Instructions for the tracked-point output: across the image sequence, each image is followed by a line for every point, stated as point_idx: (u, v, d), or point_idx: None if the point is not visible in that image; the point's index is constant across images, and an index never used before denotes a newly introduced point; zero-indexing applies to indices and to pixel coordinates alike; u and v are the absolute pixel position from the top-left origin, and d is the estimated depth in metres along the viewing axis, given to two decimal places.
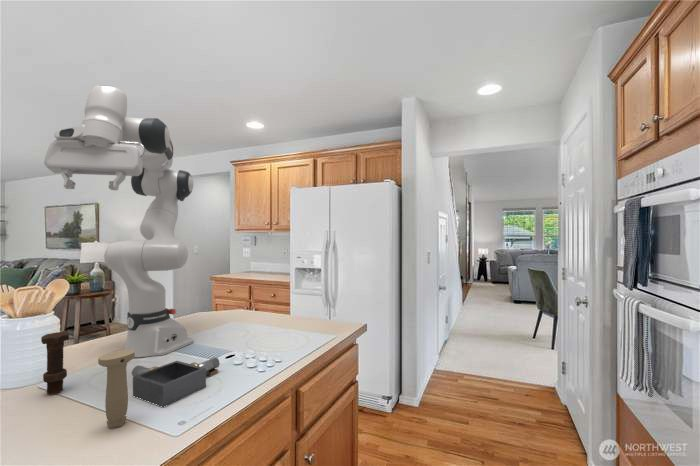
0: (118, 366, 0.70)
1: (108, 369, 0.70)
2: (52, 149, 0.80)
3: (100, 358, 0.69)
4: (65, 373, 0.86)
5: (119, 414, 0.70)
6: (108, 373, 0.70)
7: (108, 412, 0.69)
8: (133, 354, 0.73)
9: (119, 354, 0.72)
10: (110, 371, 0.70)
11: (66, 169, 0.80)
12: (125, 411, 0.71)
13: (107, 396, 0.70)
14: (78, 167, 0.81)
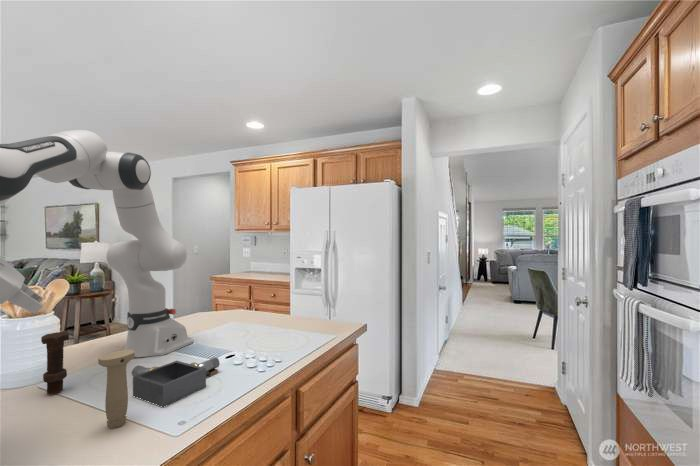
0: (118, 366, 0.70)
1: (108, 369, 0.70)
2: None
3: (100, 358, 0.69)
4: (65, 373, 0.86)
5: (119, 414, 0.70)
6: (108, 373, 0.70)
7: (108, 412, 0.69)
8: (133, 354, 0.73)
9: (119, 354, 0.72)
10: (110, 371, 0.70)
11: None
12: (125, 411, 0.71)
13: (107, 396, 0.70)
14: None
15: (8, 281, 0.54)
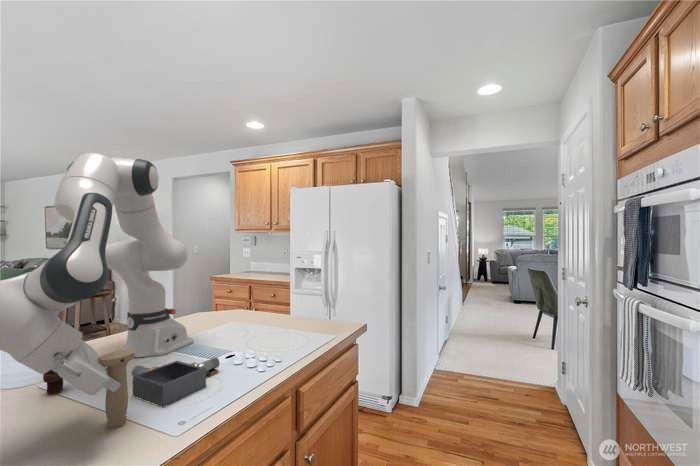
0: (118, 366, 0.70)
1: (108, 369, 0.70)
2: None
3: (100, 358, 0.69)
4: None
5: (119, 414, 0.70)
6: (108, 373, 0.70)
7: (108, 412, 0.69)
8: (133, 354, 0.73)
9: (119, 354, 0.72)
10: (110, 371, 0.70)
11: None
12: (125, 411, 0.71)
13: (107, 396, 0.70)
14: None
15: (100, 374, 0.62)
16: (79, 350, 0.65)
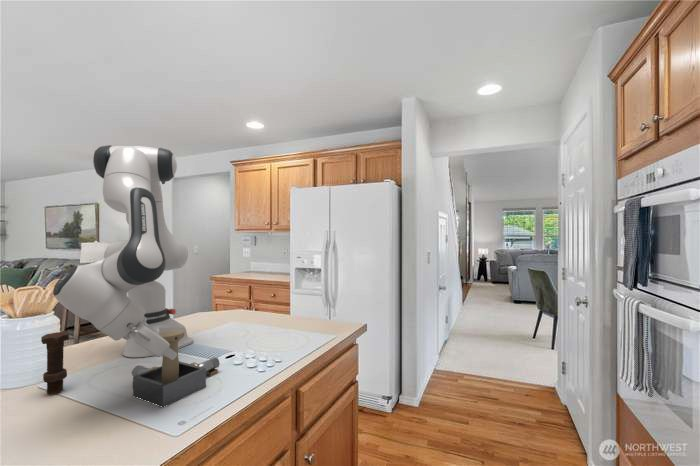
0: (172, 342, 0.85)
1: None
2: None
3: None
4: (65, 373, 0.86)
5: None
6: None
7: (164, 380, 0.85)
8: (183, 333, 0.88)
9: (172, 333, 0.87)
10: None
11: None
12: None
13: (163, 367, 0.85)
14: None
15: (164, 340, 0.77)
16: (144, 322, 0.81)
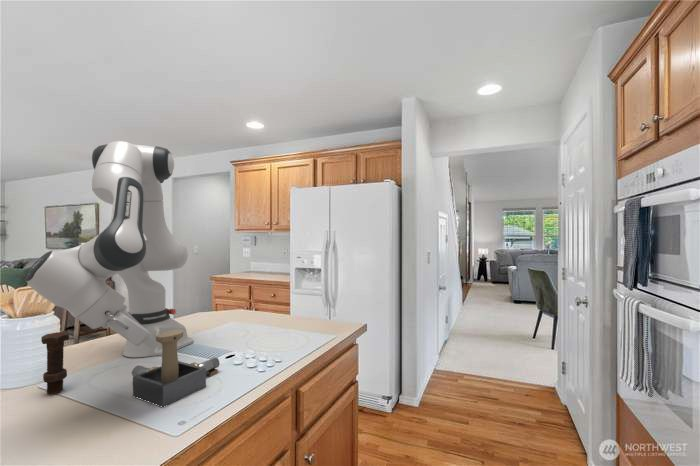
0: (171, 342, 0.85)
1: (163, 345, 0.85)
2: None
3: (157, 336, 0.84)
4: (65, 373, 0.86)
5: None
6: (163, 348, 0.85)
7: (164, 380, 0.85)
8: (182, 333, 0.88)
9: (171, 333, 0.87)
10: (165, 347, 0.85)
11: None
12: None
13: (163, 367, 0.85)
14: None
15: (143, 329, 0.74)
16: (123, 310, 0.78)
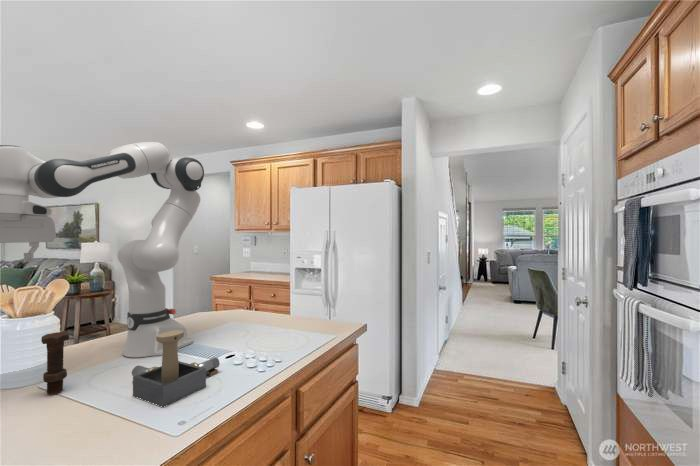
0: (172, 342, 0.85)
1: (164, 345, 0.85)
2: None
3: (158, 336, 0.84)
4: (65, 373, 0.86)
5: None
6: (164, 348, 0.85)
7: (164, 380, 0.85)
8: (183, 333, 0.88)
9: (172, 333, 0.87)
10: (166, 347, 0.85)
11: None
12: None
13: (163, 367, 0.85)
14: None
15: None
16: None
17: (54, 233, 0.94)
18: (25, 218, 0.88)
